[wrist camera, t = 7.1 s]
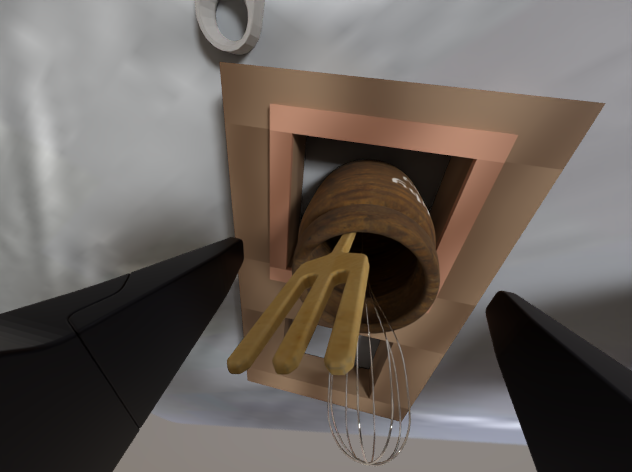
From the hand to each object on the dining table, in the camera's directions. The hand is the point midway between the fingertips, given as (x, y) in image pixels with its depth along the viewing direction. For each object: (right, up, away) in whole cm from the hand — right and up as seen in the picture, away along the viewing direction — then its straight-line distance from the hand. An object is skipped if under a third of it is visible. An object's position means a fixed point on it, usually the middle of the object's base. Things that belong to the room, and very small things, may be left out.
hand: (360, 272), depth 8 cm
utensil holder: (+1, +3, +6) cm, 7 cm away
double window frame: (+1, -2, +9) cm, 9 cm away
